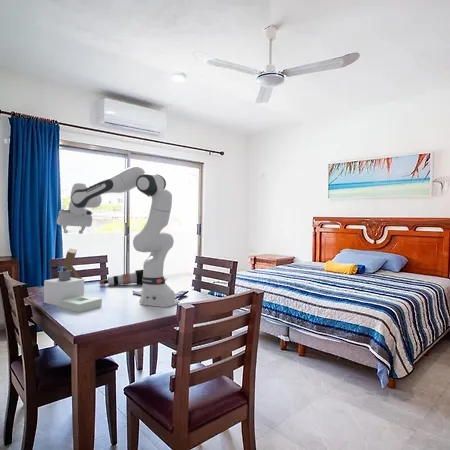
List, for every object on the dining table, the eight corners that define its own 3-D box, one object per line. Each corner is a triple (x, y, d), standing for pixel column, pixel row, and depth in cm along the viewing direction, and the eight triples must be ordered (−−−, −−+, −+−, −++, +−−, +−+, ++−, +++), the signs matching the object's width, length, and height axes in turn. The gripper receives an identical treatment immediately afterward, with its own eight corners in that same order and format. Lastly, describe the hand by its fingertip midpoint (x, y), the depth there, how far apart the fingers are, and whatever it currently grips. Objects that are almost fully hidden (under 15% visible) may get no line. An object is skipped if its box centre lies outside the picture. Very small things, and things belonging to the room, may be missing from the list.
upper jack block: (83, 301, 187) (84, 279, 187) (61, 306, 175) (61, 283, 174) (66, 297, 194) (67, 276, 193) (43, 302, 181) (44, 280, 181)
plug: (70, 285, 185) (70, 267, 184) (63, 286, 181) (63, 267, 181) (65, 284, 187) (65, 266, 186) (58, 285, 183) (59, 267, 183)
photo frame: (56, 293, 203) (56, 251, 202) (59, 286, 223) (60, 248, 222) (82, 292, 208) (83, 251, 207) (84, 285, 228) (84, 248, 228)
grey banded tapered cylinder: (100, 292, 229) (99, 277, 233) (151, 284, 241) (149, 271, 245) (100, 288, 220) (98, 273, 224) (152, 280, 232) (150, 266, 236)
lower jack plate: (101, 306, 178) (101, 298, 178) (79, 312, 165) (79, 304, 165) (83, 302, 184) (83, 295, 184) (60, 308, 172) (60, 300, 172)
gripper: (62, 209, 189) (58, 233, 190) (94, 212, 205) (91, 234, 206) (56, 207, 193) (53, 231, 194) (89, 210, 209) (85, 232, 210)
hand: (73, 233), depth 200 cm, fingers open, 8 cm apart
